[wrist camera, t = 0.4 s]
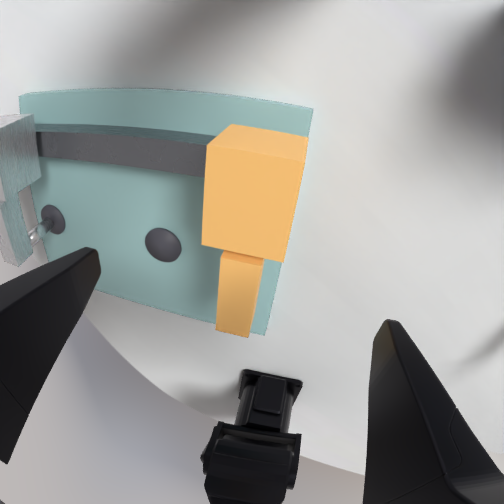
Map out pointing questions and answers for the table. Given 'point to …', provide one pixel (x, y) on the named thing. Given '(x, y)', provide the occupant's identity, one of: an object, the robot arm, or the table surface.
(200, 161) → the rail
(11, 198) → the fixed leg
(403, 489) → the robot arm
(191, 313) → the board
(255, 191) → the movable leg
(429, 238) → the table surface
